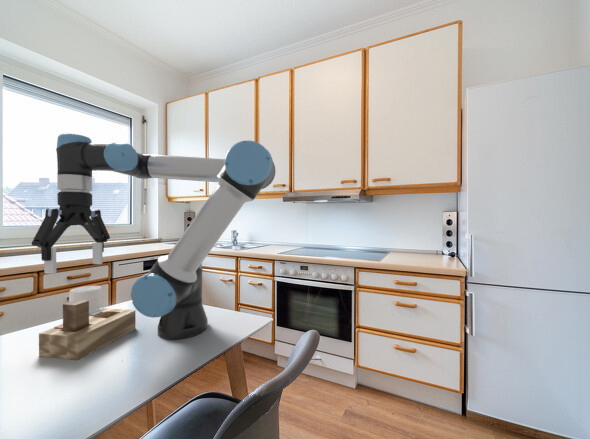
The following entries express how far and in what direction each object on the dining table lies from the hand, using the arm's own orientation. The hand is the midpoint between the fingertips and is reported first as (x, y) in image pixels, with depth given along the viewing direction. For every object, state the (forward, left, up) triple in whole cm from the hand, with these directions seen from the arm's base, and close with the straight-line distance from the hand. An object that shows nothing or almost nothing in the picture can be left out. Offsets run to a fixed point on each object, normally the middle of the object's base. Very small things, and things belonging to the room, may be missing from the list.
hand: (76, 268), depth 75 cm
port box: (0, -5, -22) cm, 23 cm away
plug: (0, 0, -22) cm, 22 cm away
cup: (+14, -16, -23) cm, 31 cm away
